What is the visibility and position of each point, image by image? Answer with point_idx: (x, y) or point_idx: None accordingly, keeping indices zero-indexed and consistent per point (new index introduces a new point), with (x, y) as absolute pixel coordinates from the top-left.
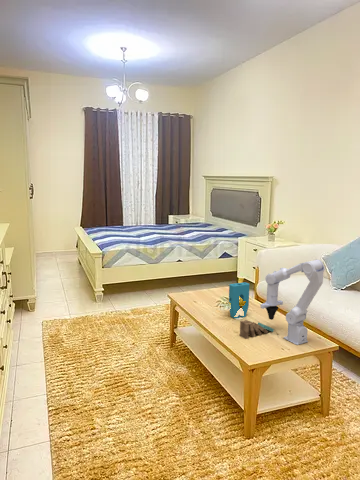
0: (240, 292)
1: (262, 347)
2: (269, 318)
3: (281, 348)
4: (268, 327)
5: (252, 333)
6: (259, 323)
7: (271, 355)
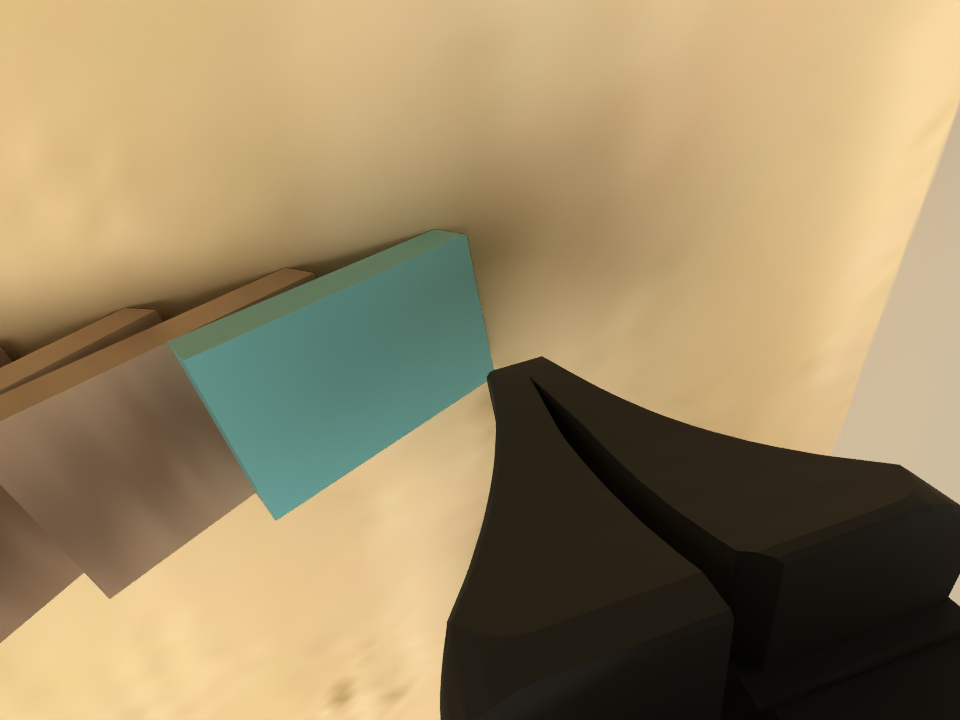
0: None
1: (130, 690)
2: (492, 395)
3: (336, 690)
4: (375, 448)
5: None
6: (203, 397)
7: None
